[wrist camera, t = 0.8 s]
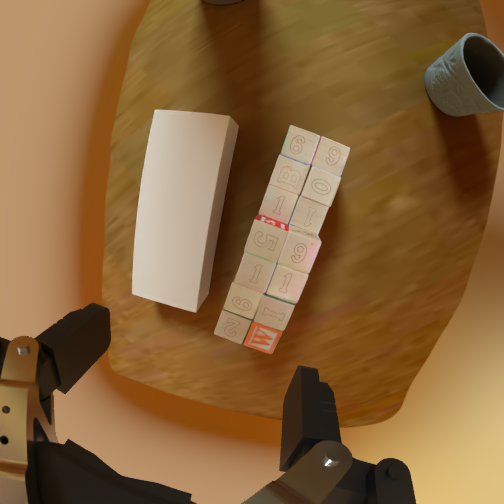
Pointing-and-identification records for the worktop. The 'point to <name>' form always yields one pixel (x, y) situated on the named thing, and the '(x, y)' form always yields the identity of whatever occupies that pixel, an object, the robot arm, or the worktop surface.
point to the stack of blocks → (283, 240)
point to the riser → (181, 206)
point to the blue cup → (468, 78)
